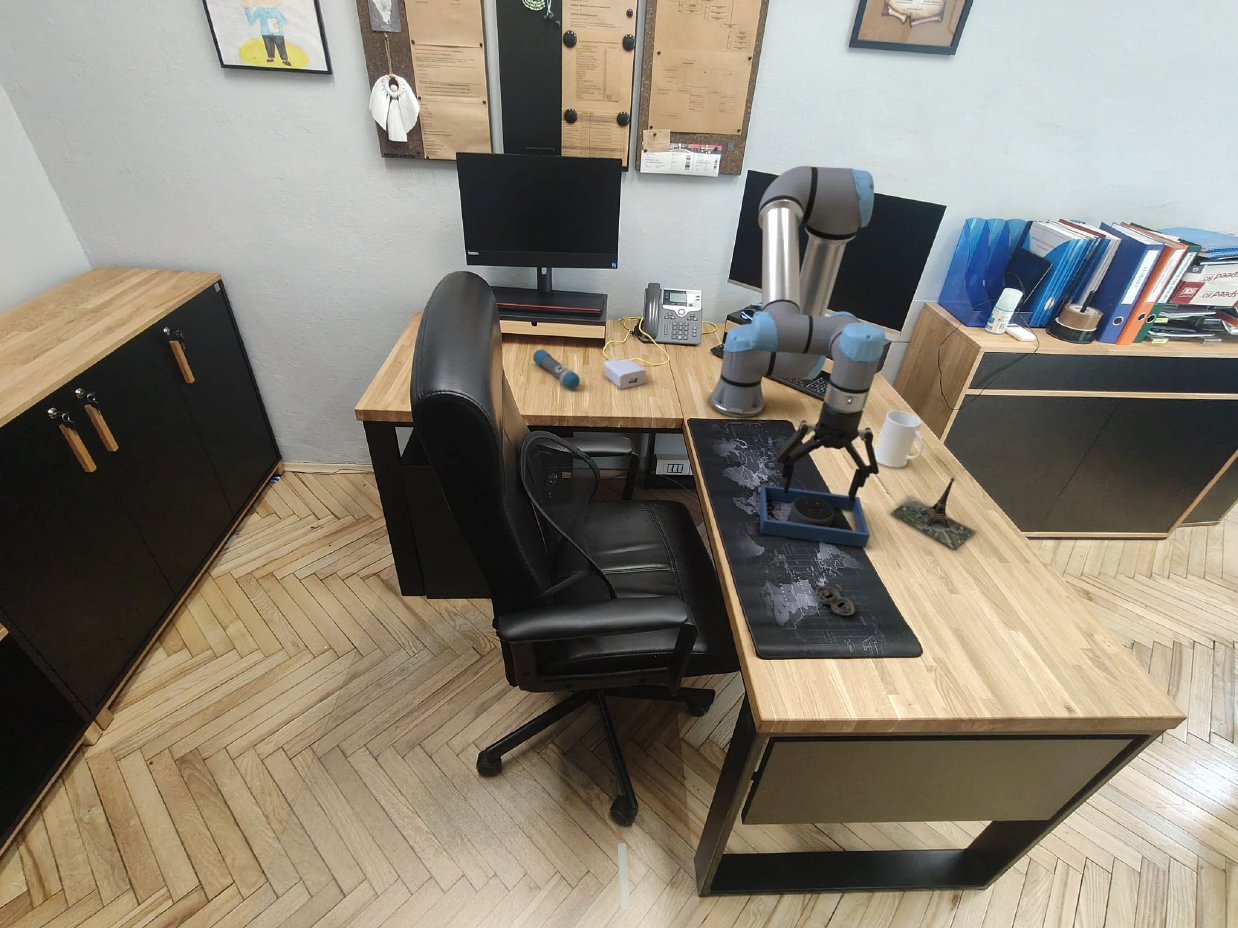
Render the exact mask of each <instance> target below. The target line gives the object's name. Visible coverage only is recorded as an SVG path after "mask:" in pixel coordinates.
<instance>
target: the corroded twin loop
mask: <svg viewBox="0 0 1238 928" xmlns="http://www.w3.org/2000/svg"><path fill="white" fill-rule="evenodd" d="M815 595H816V597H817V601H818V602H819V603H821V604H822V605H826V606H830V607H831V611H832V612H833V613H834V614H835V615H839V616H842V617H848V616H851V615H853V614H855V611H856V608H855V604H854V602H853V601H851V599H849V598H846V597H843V596H842V595H841V593H840V591H839V589H837V588H836V587H833V586H829V585H818V586H816V588H815ZM829 595H831V597H829V598H826V597H827V596H829ZM839 604H843V605H842V606H840V607H839Z"/></svg>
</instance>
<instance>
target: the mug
mask: <svg viewBox="0 0 1238 928" xmlns="http://www.w3.org/2000/svg"><path fill="white" fill-rule="evenodd" d="M921 424H922V420H921V419H920V418H919V416H917V415H916V414H913V413H911V412H909V411H905V410H897V409H896V410H894V409H893V410H890V411H888V412H887V413H886V414H885V418H884V419H883V424H882V426H881V429H880V432H879V435H878V438H877V440H876V444H875V447H874V448H873V450H874V454H875V457H876V461H877V464H878V463H879V464H880V465H882V466H885V467H889V468H897V469H898V468H903V467H905V466H906V465H907V464H908V460H915V459H917V458H919V457H920V456H921V455H922V454H923V452H924V446H925V444H924V439H923V437H922V435H921V433H920V432H919V430H920V428H921ZM916 437H917V439H918V441H919V445H920V448H919V451H918V453H917V454H915V455H910V453H911V451H912V448H913V445H914V443H915V440H916Z"/></svg>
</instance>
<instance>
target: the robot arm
mask: <svg viewBox="0 0 1238 928" xmlns="http://www.w3.org/2000/svg"><path fill="white" fill-rule="evenodd" d="M874 201H875V183H874V177H873V175H872V174H871V173H870V172H869V171H868V170H862V169H855V168H853V167H850V168H849V167H829V166H828V167H826V166H811V165H800V166H795V167H792V168H789V169H788V170H786V171H784V172H783V173H781V174H780V175H778V177H776V178H775V179H774V180H773V181H772V182H771V183H770V185H768V187H767V189H766V190H765V191H764V194H763V195H762V197H761V200H760V203H759V206H758V207H759V208H758V213H757V214H758V216H757V217H758V218H757V221H758V222H757V223H758V226H759V228H760V230H762V255H761V256H762V257H761V258H762V261H761V262H762V264H761V266H762V267H761V273H762V274H761V311H756V312H754V314H753V316H752V318H751V322H750V323H747V324H746V323H745V324H740V325H737V326H735V327H732V328H731V329H730V330H729V331H728V333H727V334H726V338H725V342H724V345H723V349H724V350H723V356H722V363H721V369H720V375H719V379H718V381H717V382H716V384H715V386H714V388H713V390H712V392H711V394H710V398H709V404H710V407H712V408H713V409H714V410H715V411H716V412H718V413H720V414H722V415H725V416H729V417H733V418H751V417H755V416H757V415H759V414H760V413H762V411H763V408H764V395H763V389H762V381H763V377H775V378H786V379H795V380H799V381H800V380H813V379H815V378H816V377H818V376H819V375H820V373H821V372H822V370H823V368H824V366H825V363H826V361H827V357H831V358H832V359H831V360H833V363H832V367H831V372H830V376H829V378H828V379H829V380H828V383H827V386H826V391H825V394H824V398H823V400H824V401H823V402H822V405H821V409H820V413H819V417H818V420H817V422H816V423H815V424H813V423H809V422H807V420H806V419H803V420H801V421H800V423H799V425H798V428H797V430H795V432H794V433H793V434H792V436H791V437H790V438H788V440H787V441H786V442H785V443H784V444H783V445H782V446H781V448H780V449H779V450H777V452H776V454H775V455H776V462H777V463H778V464H782V467H781V477H782V478H783V479H784V481H783V485H782V487H783V488H784V493H788V490H789V488H790V486H791V482H792V479H793V475H794V474H793V473H794V470H795V463H797V462H799V461H800V460H801V459H802V458H804V457H805V456H807V455H809V454H810V453H812V452H813V451H814V450H818V449H820V448H821V447H824V448H825V449H835V450H841V449H843V448H844V449H845V450H846V452H847V454H849V456H850V457H851V459H852V461H853V462H854V464H855V465H856V466H857V468H856V469H855V471H854V474H853V477H852V480H851V483H850V486H849V489H848V493H847V496H849V499H850V501H852V502H854V500H855V497H857V494H858V491H859V488H863V487H864V486H865V484H866V481H867V479H869V478H870V476H871V475H878V474H880V469H879V465H878V462H877V461H876V457H875V454H874V446H873V440H874V433H873V431H872V429H871V427H865V428H864V429H859V426H860V423H861V420H862V417H863V414H864V409H865V407H866V404H867V400H868V396H869V394H870V390H871V387H872V385H873V381H874V378H875V375H876V372H877V370H878V366H879V363H880V360H881V357H882V355H883V353H884V346H885V342H886V341H885V340H886V333H885V331H884V330H883V329H882V328H880V327H878V326H876V325H874V324H871V323H865V322H861V320H859V318H857V317H856V316H855V315H854V314H852V313H850V312H847V311H837V312H835V313H833V314H830V315H829V316H826V313H827V310H828V306H829V303H830V299H831V297H832V292H833V289H834V286H835V283H836V279H837V276H838V273H839V269H840V265H841V263H842V259H843V255H844V252H845V248H846V246H847V243H848V242H850V241H851V240H853V239H855V237H856V235H857V232H858V229H859V228H860V229H863V228H865V227H867V226H868V225H869V222H870V221H871V217H872V214H873V209H874ZM801 224H805V226H804V230H805V232H806V233H807V235H808V240H807V245H806V249H805V253H804V257H803V261H802V265H801V269H800V231H799V230H800V229H799V227H800V225H801ZM812 432H814V434H813V435H811V436H810V438H809V439H808V440H806V441H805V442H803V440H804V439H805V437H806V436H809V435H810V433H812ZM858 437H859V438H860V441H862V442H863V444H864V448H865V450H866V451H865V452H866V455H867V458H868V462H869V464H868V465H867V464H866V463H865V461H864V459H863V458H862V456H861V455H860V453H859V451H858V449H856V447H855V445H854V443H853V442H854V441H855V440H856V439H857V438H858ZM801 442H803V443H802V444H801V445H800V443H801Z"/></svg>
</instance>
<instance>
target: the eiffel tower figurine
mask: <svg viewBox="0 0 1238 928" xmlns="http://www.w3.org/2000/svg"><path fill="white" fill-rule="evenodd" d="M955 476H956V474H954V475H953V477H951V478H950V481H949V482H948V484H947V486H946V488H945V490H944V492H943V494H942V495H941V496H940V498H939V499H937V502H935V503H934V504H933V505H932V506H929V505H926V504H924V503H922V502H920V501H919V500H916V499H914V498H912V497H911V498H909V499H908V500H906V501H905V502H903V503H902V504H900V505H899V506H898V507H896V508H895V509H893V510H892V511H890V514H893V515H894V516H895V517H898V518H899V519H901V520H903V521H904V522H906V523H908V524H910V525H912V526H913V527H915V528H917V529H919V530H921V531H922V532H924V533H926V534H927V535H929V536H930V537H932V538H934V539H936V540H938V541H939V542H941V544H943V545H945V546H947V547H948V548H950V549H952V550H953V551H955V550H956V549H957V548H958V547H960V546H961V544H963V543H964V542H965V541H966V540H967V539H968V538H969V537H971V535H973V533H975V532H976V530H975V529H973V528H971V527H969V526H966V525H964V524H962V523H960V522H959V521H957V520H955V519H953V518H951V517H949V516H948V514H947V511H946V510H947V509H946V507H947V500H948V497H949V495H950V492H951V488H952V486H953V483H954V482H955Z"/></svg>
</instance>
